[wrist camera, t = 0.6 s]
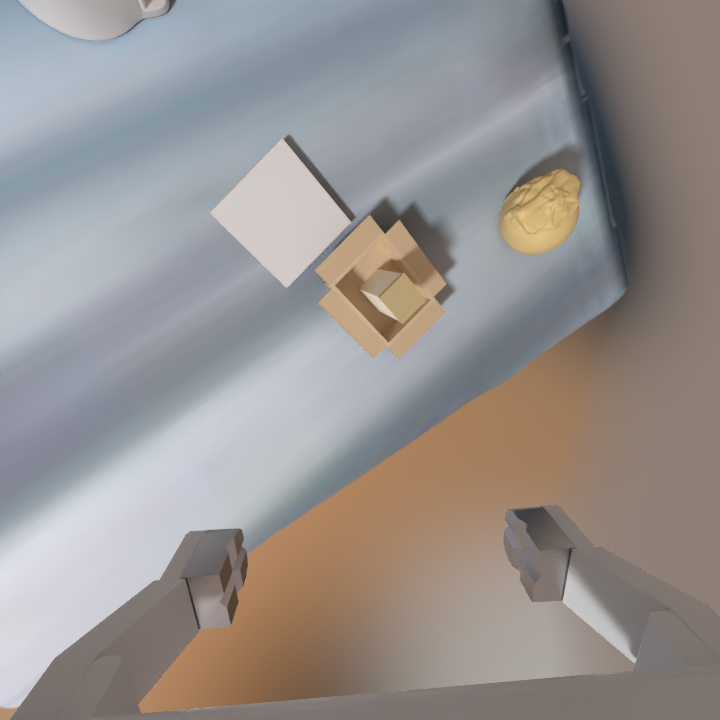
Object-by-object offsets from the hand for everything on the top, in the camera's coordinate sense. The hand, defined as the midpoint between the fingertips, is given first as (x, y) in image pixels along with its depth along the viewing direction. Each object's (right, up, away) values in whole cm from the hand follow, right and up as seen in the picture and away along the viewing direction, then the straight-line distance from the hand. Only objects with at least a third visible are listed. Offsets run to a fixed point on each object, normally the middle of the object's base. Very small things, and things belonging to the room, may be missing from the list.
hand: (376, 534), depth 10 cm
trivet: (-12, +26, +39) cm, 48 cm away
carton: (+2, +17, +46) cm, 49 cm away
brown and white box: (+2, +17, +46) cm, 49 cm away
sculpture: (+28, +31, +50) cm, 65 cm away
